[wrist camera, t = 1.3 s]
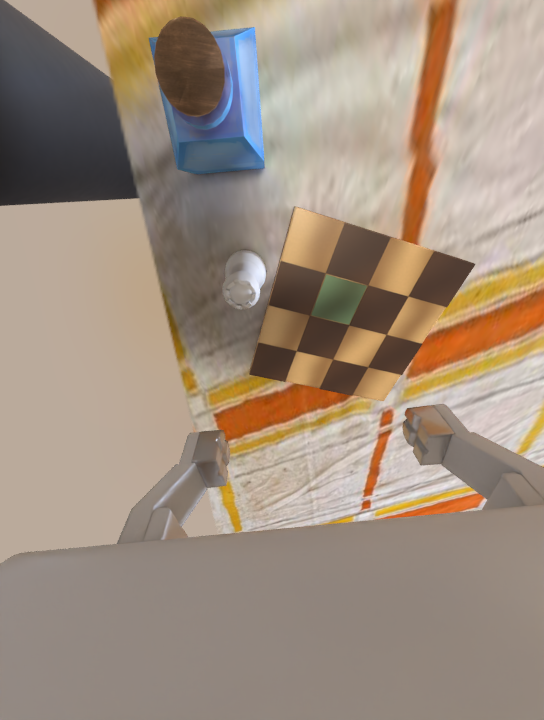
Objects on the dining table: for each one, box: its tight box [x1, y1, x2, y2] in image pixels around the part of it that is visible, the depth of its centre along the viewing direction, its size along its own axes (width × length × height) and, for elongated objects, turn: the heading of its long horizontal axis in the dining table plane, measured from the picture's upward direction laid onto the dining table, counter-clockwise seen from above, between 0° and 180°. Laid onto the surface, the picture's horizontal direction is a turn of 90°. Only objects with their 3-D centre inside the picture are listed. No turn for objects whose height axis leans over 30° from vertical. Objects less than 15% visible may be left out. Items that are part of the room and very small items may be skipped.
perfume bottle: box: [149, 17, 264, 174], centre depth 17 cm, size 6×6×12 cm
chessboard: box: [249, 206, 475, 401], centre depth 32 cm, size 20×20×1 cm
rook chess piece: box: [222, 250, 267, 310], centre depth 25 cm, size 4×4×8 cm
